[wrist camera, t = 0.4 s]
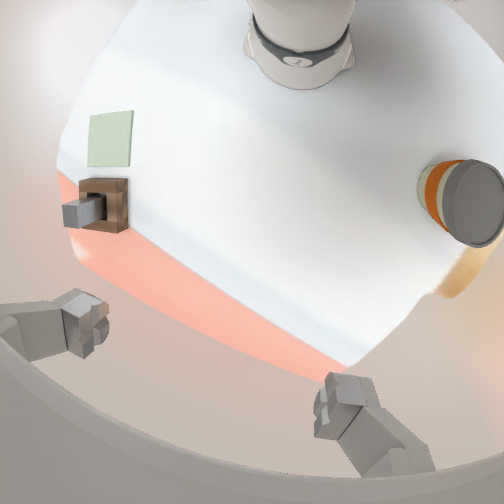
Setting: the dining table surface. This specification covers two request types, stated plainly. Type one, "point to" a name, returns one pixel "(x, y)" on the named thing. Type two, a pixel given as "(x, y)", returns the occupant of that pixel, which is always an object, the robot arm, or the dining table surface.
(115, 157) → the mat
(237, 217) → the dining table surface
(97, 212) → the peg
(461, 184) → the reusable coffee cup
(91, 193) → the socket block
